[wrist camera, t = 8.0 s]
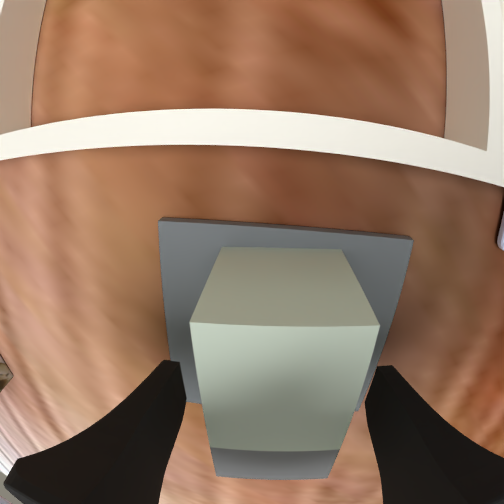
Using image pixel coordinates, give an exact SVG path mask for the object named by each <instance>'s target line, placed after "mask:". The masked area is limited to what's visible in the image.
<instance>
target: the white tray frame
mask: <svg viewBox="0 0 504 504" xmlns="http://www.w3.org/2000/svg"><path fill="white" fill-rule="evenodd" d="M45 4H46V0H0V160H5V159H10V158H17V157H23V156H30V155H37V154H44V153H52V152H60V151H70V150H80V149H91V148H104V147H119V146H140V145H234V146H256V147H272V148H285V149H297V150H308V151H318V152H327V153H335V154H343V155H351V156H358V157H365V158H372V159H379V160H385V161H391V162H397V163H402V164H408V165H413V166H418V167H423V168H428V169H433V170H438V171H442V172H447V173H451V174H456V175H460V176H464V177H468V178H472V179H476V180H480V181H484V182H487V183H491V184H495V185H498V186H502V187H504V0H442V7H443V16H444V26H445V40H446V62H447V98H446V120H445V134H444V138H440V137H436V136H432V135H428V134H424V133H420V132H416V131H411V130H407V129H402V128H397V127H392V126H387V125H382V124H377V123H371V122H365V121H359V120H353V119H346V118H339V117H331V116H323V115H315V114H305V113H295V112H283V111H268V110H248V109H175V110H155V111H140V112H129V113H118V114H109V115H101V116H93V117H86V118H79V119H73V120H66V121H61V122H55V123H50V124H45V125H40V126H35V127H31V103H32V87H33V76H34V66H35V58H36V51H37V44H38V38H39V32H40V27H41V22H42V17H43V12H44V8H45Z"/></svg>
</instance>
